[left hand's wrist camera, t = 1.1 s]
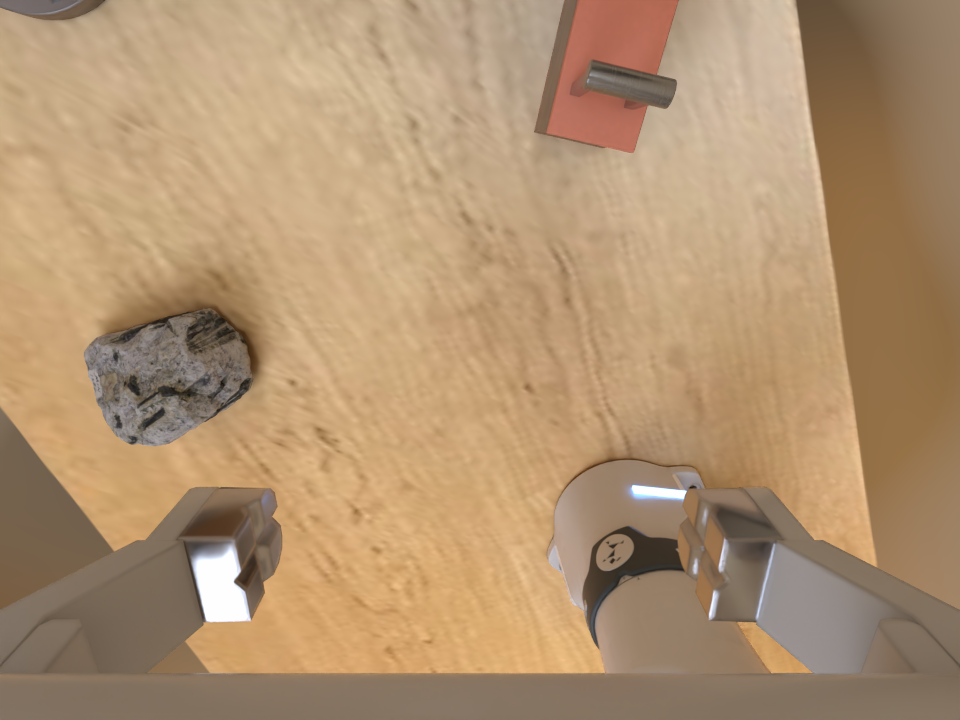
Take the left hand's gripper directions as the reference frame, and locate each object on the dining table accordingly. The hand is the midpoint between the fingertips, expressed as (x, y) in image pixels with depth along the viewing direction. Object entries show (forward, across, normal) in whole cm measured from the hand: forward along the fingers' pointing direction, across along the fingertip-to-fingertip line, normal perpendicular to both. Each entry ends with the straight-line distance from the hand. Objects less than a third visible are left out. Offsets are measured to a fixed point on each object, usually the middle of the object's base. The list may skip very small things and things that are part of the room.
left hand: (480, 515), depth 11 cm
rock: (+40, -29, -13) cm, 51 cm away
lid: (+30, +9, +15) cm, 35 cm away
